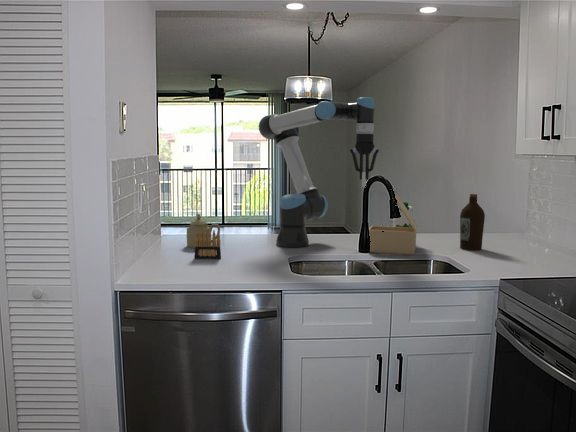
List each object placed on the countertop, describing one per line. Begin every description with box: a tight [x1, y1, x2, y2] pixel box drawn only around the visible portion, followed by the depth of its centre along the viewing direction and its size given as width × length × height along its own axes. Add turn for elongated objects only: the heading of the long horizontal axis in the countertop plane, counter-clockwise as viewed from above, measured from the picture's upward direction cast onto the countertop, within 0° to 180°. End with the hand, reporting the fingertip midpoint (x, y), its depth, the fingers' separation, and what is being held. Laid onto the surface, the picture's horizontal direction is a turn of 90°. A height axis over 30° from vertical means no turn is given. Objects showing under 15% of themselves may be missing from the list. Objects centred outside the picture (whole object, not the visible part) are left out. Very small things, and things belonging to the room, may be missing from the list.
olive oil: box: [459, 193, 486, 252], centre depth 259 cm, size 11×11×25 cm
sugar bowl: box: [186, 213, 221, 249], centre depth 260 cm, size 15×11×15 cm
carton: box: [368, 225, 417, 256], centre depth 253 cm, size 20×13×10 cm, turn 75°
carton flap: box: [392, 188, 419, 232], centre depth 250 cm, size 20×14×1 cm
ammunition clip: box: [193, 229, 222, 260], centre depth 233 cm, size 11×2×12 cm, turn 90°
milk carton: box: [392, 201, 414, 228], centre depth 270 cm, size 9×9×20 cm
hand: (363, 187), depth 253 cm, fingers closed
